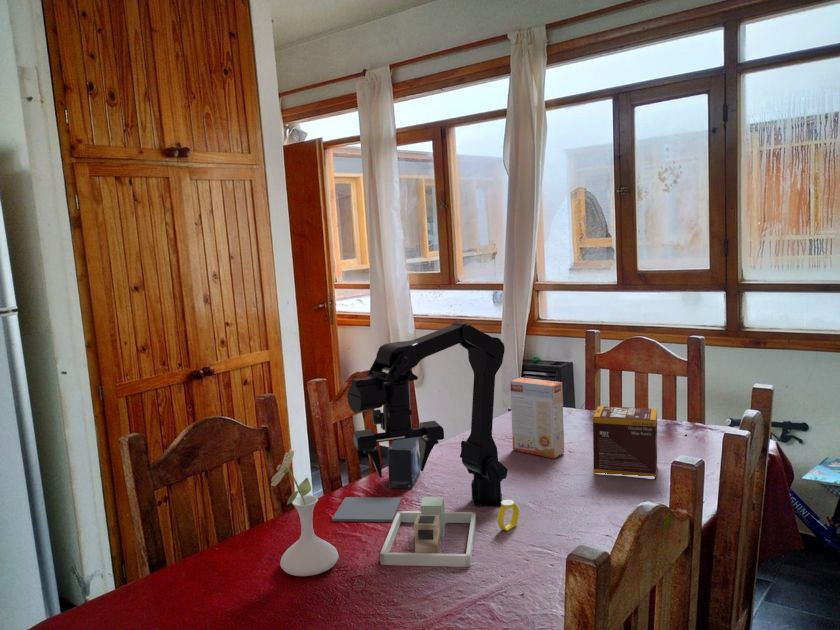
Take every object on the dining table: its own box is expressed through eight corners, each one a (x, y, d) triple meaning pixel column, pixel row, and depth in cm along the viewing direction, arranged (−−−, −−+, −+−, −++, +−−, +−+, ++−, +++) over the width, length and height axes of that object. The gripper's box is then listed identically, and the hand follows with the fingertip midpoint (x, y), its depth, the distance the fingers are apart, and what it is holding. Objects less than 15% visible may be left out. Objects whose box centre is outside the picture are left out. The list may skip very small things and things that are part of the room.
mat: (401, 499, 157) (401, 497, 157) (392, 521, 146) (392, 519, 146) (345, 499, 160) (345, 497, 159) (332, 521, 148) (331, 518, 148)
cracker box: (565, 453, 183) (563, 381, 181) (554, 459, 179) (552, 386, 176) (523, 444, 193) (521, 375, 190) (512, 450, 188) (509, 380, 186)
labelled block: (440, 547, 133) (439, 514, 132) (438, 558, 128) (436, 524, 127) (419, 547, 134) (417, 514, 133) (415, 558, 129) (413, 524, 128)
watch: (506, 536, 137) (504, 509, 136) (495, 532, 139) (493, 506, 138) (522, 523, 141) (520, 498, 140) (511, 520, 143) (509, 495, 142)
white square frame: (476, 521, 144) (475, 512, 143) (470, 566, 124) (469, 556, 124) (398, 520, 146) (397, 511, 146) (380, 564, 127) (379, 554, 127)
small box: (413, 489, 164) (411, 449, 162) (388, 488, 165) (386, 449, 164) (421, 473, 174) (419, 436, 173) (398, 473, 175) (395, 435, 174)
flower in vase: (306, 548, 136) (297, 432, 132) (350, 559, 130) (342, 439, 127) (262, 578, 124) (251, 453, 121) (308, 592, 119) (297, 461, 115)
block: (445, 527, 142) (443, 497, 141) (443, 537, 137) (441, 505, 136) (425, 527, 142) (423, 496, 141) (422, 536, 138) (420, 505, 137)
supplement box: (656, 480, 161) (656, 419, 159) (593, 474, 167) (591, 416, 165) (658, 465, 171) (657, 408, 169) (597, 461, 176) (596, 405, 174)
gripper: (428, 389, 148) (431, 455, 150) (347, 399, 143) (351, 467, 145) (443, 401, 137) (446, 472, 139) (356, 412, 132) (360, 485, 134)
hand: (401, 473), depth 139 cm, fingers open, 9 cm apart
